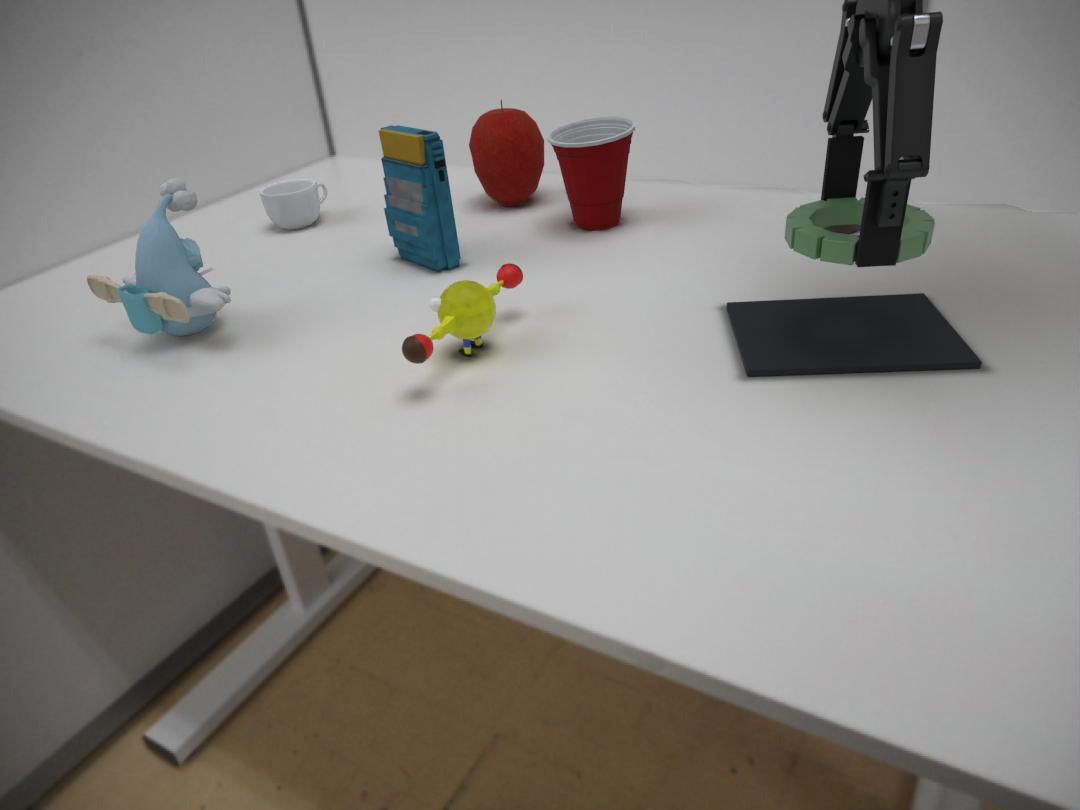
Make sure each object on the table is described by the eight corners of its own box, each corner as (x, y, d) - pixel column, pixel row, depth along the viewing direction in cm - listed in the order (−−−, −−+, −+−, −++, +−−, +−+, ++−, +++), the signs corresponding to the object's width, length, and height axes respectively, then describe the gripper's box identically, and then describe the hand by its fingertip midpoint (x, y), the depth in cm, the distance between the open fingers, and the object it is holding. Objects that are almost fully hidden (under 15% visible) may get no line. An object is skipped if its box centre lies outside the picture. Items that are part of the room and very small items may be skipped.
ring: (903, 214, 64) (906, 193, 63) (951, 261, 55) (956, 238, 54) (774, 221, 66) (776, 201, 65) (801, 269, 57) (803, 246, 56)
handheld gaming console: (466, 264, 87) (446, 132, 79) (438, 276, 85) (414, 141, 77) (418, 247, 93) (395, 123, 85) (390, 258, 91) (364, 131, 83)
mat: (922, 298, 70) (923, 292, 69) (980, 368, 59) (982, 361, 58) (726, 307, 72) (726, 302, 71) (747, 376, 61) (748, 370, 60)
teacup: (291, 237, 101) (280, 198, 99) (259, 229, 106) (247, 191, 103) (348, 214, 108) (339, 177, 105) (315, 208, 112) (306, 172, 109)
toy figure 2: (495, 306, 77) (486, 243, 73) (542, 313, 74) (536, 248, 71) (389, 393, 64) (372, 322, 60) (442, 405, 61) (428, 332, 58)
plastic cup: (539, 222, 98) (530, 127, 91) (609, 203, 101) (605, 111, 95) (580, 245, 89) (573, 142, 83) (655, 224, 93) (654, 124, 87)
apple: (562, 196, 106) (555, 92, 99) (517, 218, 100) (505, 109, 92) (508, 188, 112) (497, 89, 105) (462, 208, 106) (447, 104, 98)
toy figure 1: (284, 323, 78) (240, 180, 70) (198, 369, 71) (138, 216, 63) (189, 298, 86) (140, 167, 78) (103, 337, 79) (40, 197, 71)
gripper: (803, -80, 59) (779, 196, 71) (899, -82, 39) (843, 299, 51) (903, -90, 58) (861, 191, 70) (1051, -96, 38) (959, 294, 50)
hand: (854, 237), depth 60 cm, fingers closed on ring, 11 cm apart
